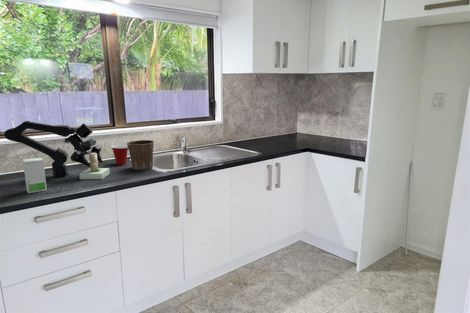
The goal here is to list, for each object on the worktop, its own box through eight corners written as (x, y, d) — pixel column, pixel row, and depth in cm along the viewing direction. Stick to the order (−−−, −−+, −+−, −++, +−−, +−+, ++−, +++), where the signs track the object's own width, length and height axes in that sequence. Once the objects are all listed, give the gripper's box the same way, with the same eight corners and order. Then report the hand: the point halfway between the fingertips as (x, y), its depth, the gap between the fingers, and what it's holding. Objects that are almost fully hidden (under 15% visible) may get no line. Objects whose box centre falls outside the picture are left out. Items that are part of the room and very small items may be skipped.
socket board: (80, 179, 178) (79, 174, 178) (89, 173, 190) (88, 168, 189) (102, 178, 179) (101, 173, 178) (109, 173, 190) (109, 168, 190)
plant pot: (123, 171, 195) (121, 144, 191) (135, 164, 210) (133, 139, 207) (149, 171, 192) (148, 144, 189) (159, 165, 208) (158, 140, 205)
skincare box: (27, 193, 156) (22, 162, 152) (26, 190, 161) (21, 159, 157) (47, 190, 160) (43, 159, 157) (46, 187, 166) (41, 157, 162)
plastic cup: (132, 164, 210) (131, 146, 208) (115, 166, 204) (113, 148, 202) (127, 161, 219) (126, 143, 216) (111, 163, 213) (109, 145, 211)
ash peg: (89, 177, 182) (87, 154, 179) (93, 175, 186) (90, 152, 183) (97, 177, 182) (95, 154, 179) (100, 175, 186) (98, 152, 184)
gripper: (72, 136, 172) (91, 158, 171) (97, 131, 189) (114, 151, 188) (62, 150, 176) (80, 172, 175) (87, 144, 193) (104, 163, 192)
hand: (96, 164), depth 182 cm, fingers open, 9 cm apart
